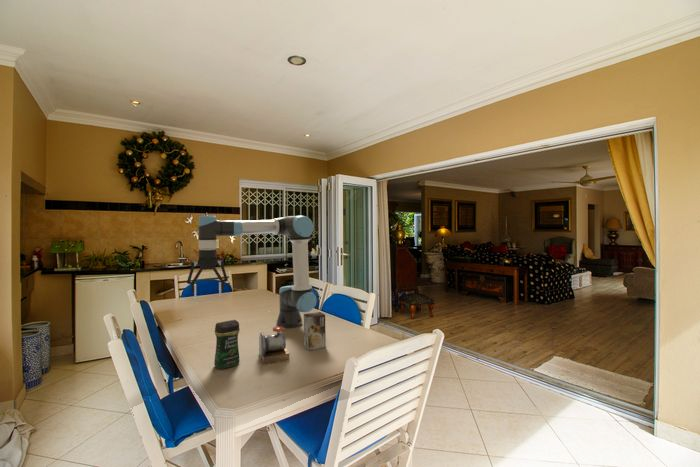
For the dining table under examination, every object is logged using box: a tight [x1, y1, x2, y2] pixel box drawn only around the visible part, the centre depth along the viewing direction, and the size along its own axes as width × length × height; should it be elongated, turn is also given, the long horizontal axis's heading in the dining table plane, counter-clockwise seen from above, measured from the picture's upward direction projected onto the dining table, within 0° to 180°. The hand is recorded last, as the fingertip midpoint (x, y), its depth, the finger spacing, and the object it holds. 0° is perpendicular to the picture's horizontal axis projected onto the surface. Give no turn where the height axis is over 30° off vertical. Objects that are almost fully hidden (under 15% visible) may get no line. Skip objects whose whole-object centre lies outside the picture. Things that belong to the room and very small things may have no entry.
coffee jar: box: [213, 319, 240, 370], centre depth 133 cm, size 10×8×19 cm
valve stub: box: [258, 325, 290, 365], centre depth 142 cm, size 11×12×13 cm
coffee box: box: [303, 311, 327, 351], centre depth 154 cm, size 9×6×16 cm
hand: (207, 297), depth 146 cm, fingers open, 10 cm apart
